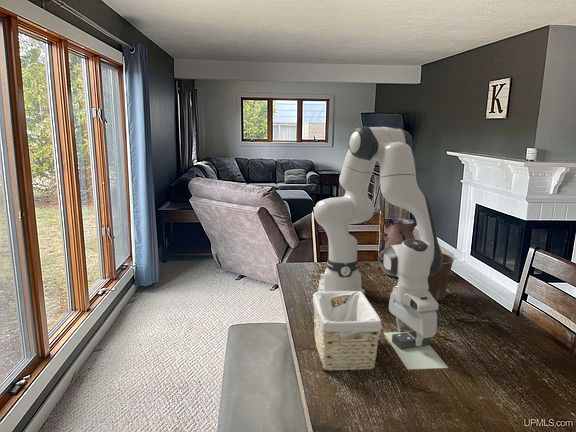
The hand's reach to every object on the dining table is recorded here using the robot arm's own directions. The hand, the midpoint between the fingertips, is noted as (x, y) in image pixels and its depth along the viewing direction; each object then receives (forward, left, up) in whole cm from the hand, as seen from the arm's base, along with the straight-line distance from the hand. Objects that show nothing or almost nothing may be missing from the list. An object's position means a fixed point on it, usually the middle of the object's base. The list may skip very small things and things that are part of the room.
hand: (409, 338), depth 132 cm
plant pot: (-39, +23, -3) cm, 45 cm away
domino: (-1, +6, -1) cm, 6 cm away
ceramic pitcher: (-66, +21, -3) cm, 69 cm away
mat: (+3, 0, -2) cm, 4 cm away
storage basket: (+2, -21, -3) cm, 21 cm away
